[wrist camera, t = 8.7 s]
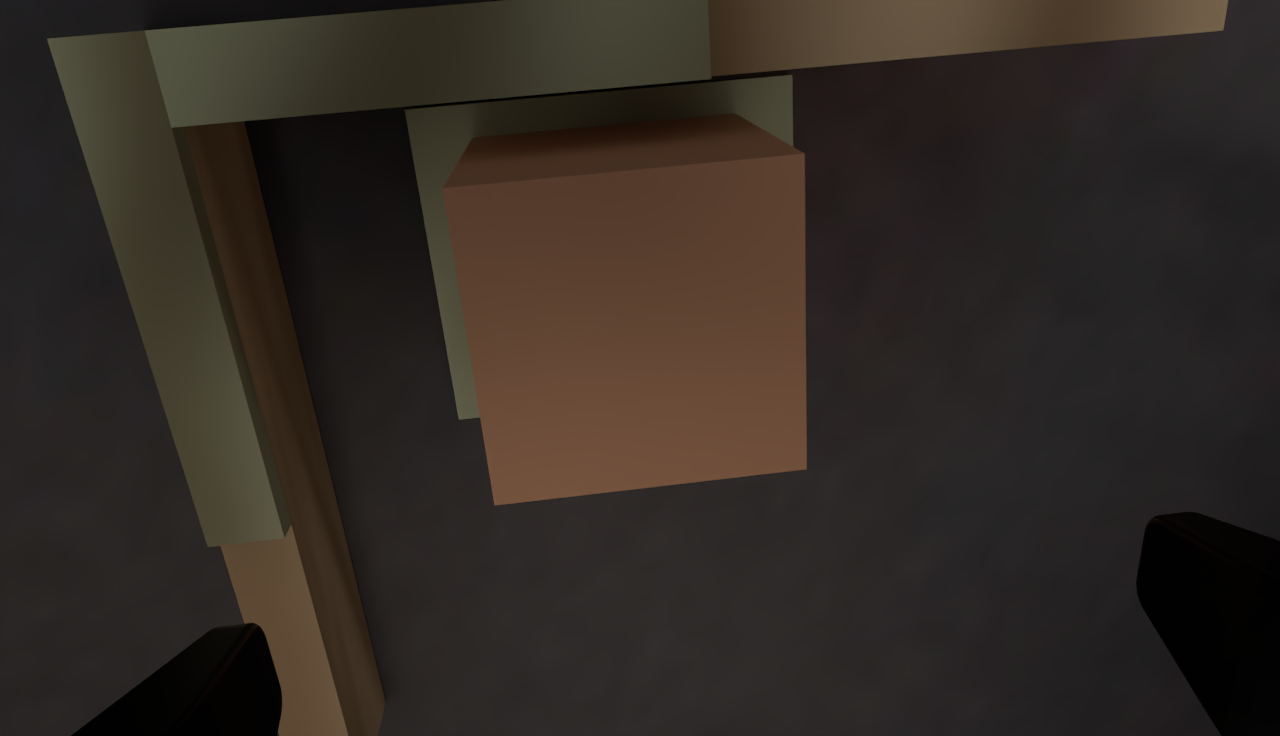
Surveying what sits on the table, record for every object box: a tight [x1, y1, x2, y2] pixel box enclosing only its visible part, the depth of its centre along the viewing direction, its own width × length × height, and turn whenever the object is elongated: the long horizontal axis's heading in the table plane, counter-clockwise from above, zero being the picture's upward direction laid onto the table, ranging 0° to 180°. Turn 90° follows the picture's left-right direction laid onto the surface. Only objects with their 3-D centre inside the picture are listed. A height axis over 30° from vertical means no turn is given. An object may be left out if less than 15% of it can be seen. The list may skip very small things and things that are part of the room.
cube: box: [442, 113, 807, 505], centre depth 17 cm, size 6×6×6 cm
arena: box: [47, 0, 1228, 736], centre depth 19 cm, size 20×17×4 cm
